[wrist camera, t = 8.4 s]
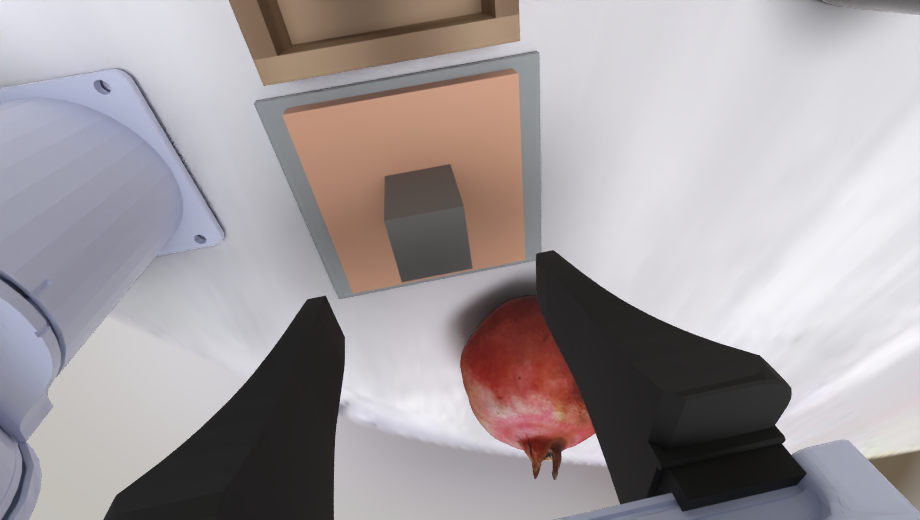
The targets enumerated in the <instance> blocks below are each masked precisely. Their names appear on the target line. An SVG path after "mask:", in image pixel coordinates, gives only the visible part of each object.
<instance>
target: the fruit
mask: <svg viewBox="0 0 920 520" xmlns="http://www.w3.org/2000/svg"><path fill="white" fill-rule="evenodd" d="M460 367H461V373H462V378H463V384H464V387H465V390H466V393H467V395H468V398H469V402H470V406H471V408H472V411H473V413H474V415H475V416H476V418H477V420H478V421H479V422H480V424H481V425H482V426H483V427H484V429H485V430H486V431H487V432H488V433H489V434H490V435H491V436H493V437H494V438H495V439H497V440H499V441H501V442H504V443H506V444H508V445H510V446H512V447H515V448H517V449H521V450H524V451H525V453H526V454H527V456H528V457H529V459H530V460H531V462H532V467H533V474H534V478H535V479H536V478H537V476H538V473H539V470H540V466H541V462H542V461H543V460H547V461H550V460H552V461H553V472H552V475H553V479H554V480H555V479H556V478H557V475H558V469H559V467H560V463H561V452H562V451H563V450H565V449H567V448H570V447H573V446H575V445H577V444H579V443H581V442H582V441H584V440H586V439H587V438H589V437H591V436H592V435H593V434H595V430H594V427H593V425H592V422H591V419H590V417H589V414H588V411H587V409H586V406H585V404H584V401H583V398H582V396H581V393H580V391H579V388H578V386H577V384H576V382H575V379H574V377H573V375H572V373H571V371H570V369H569V367H568V365H567V364H566V362H565V360H564V358H563V356H562V354H561V352H560V350H559V348H558V346H557V344H556V342H555V340H554V338H553V336H552V334H551V332H550V330H549V328H548V326H547V324H546V322H545V320H544V317H543V314H542V312H541V309H540V306H539V303H538V300H537V296H534V295H530V296H524V297H518V298H514V299H512V300H509V301H507V302H505V303H504V304H502V305H501V306H500V307H499V308H497V309H496V310H494V311H493V312H492V313H491V314H490V315H489V316H488V317H487V318H486V319H485V320H484V321H483V322H482V323H481V324H480V325H479V327H478V328H477V330H476V331H475V332H474V333H473V334H472V335H471V337H470V338H469V340H468V342H467V344H466V346H465V347H464V349H463V352H462V354H461V361H460Z"/></svg>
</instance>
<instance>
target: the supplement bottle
mask: <svg viewBox="0 0 920 520" xmlns="http://www.w3.org/2000/svg"><path fill="white" fill-rule="evenodd" d="M822 1H823V2H826V3H828V4H831V5H835V6H841V7H849V8H856V9H866V10H875V11H885V12H895V13H905V14H915V15H920V0H822Z"/></svg>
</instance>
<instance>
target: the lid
mask: <svg viewBox="0 0 920 520" xmlns="http://www.w3.org/2000/svg"><path fill="white" fill-rule="evenodd" d="M282 116H283V118H284V121H285V123H286V126H287V129H288V131H289V134H290V136H291V139H292V141H293V144H294V146H295V149H296V151H297V154H298V156H299V159H300V161H301V164H302V166H303V169H304V171H305V174H306V176H307V179H308V181H309V184H310V186H311V189H312V191H313V194H314V196H315V199H316V201H317V204H318V206H319V209H320V211H321V214H322V216H323V219H324V222H325V224H326V227H327V229H328V232H329V234H330V237H331V239H332V242H333V244H334V247H335V249H336V252H337V254H338V257H339V259H340V262H341V264H342V267H343V269H344V272H345V274H346V277H347V279H348V282H349V284H350V287H351V289H352V292H353V294H354V293H359V292H364V291H369V290H374V289H380V288H385V287H390V286H395V285H400V284H405V283H410V282H415V281H420V280H426V279H431V278H436V277H441V276H446V275H451V274H456V273H461V272H466V271H471V270H477V269H482V268H487V267H492V266H497V265H502V264H507V263H512V262H517V261H523V260H526V259H525V232H524V206H523V180H522V153H521V127H520V100H519V74H518V72H516V71H515V70H514V69H513V68H511V69H506V70H500V71H494V72H489V73H483V74H477V75H472V76H466V77H460V78H455V79H449V80H443V81H438V82H432V83H426V84H421V85H415V86H409V87H404V88H398V89H392V90H387V91H381V92H375V93H370V94H364V95H358V96H353V97H347V98H341V99H336V100H330V101H324V102H319V103H313V104H307V105H302V106H296V107H290V108H287V109H286V110H285V112H284V113H283V114H282Z"/></svg>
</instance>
